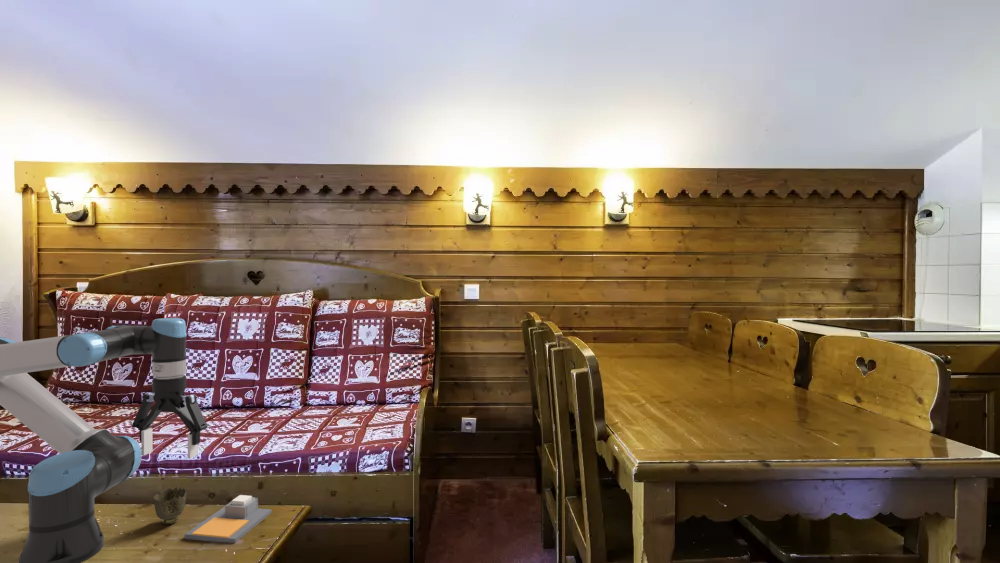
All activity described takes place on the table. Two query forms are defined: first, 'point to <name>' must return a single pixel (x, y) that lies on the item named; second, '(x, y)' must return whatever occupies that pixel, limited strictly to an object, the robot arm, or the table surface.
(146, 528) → the table surface
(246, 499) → the button
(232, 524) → the plate
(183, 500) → the cup
